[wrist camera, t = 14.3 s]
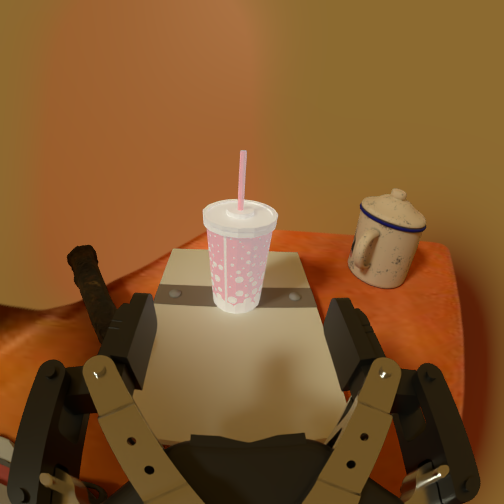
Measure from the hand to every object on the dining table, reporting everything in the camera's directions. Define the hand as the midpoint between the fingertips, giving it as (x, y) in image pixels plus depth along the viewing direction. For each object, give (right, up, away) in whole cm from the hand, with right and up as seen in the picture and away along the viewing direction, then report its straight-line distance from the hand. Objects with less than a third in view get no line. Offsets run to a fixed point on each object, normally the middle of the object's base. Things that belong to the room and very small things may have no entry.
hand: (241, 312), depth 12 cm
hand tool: (-15, -4, +13) cm, 20 cm away
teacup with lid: (+16, 0, +22) cm, 28 cm away
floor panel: (-1, -4, +13) cm, 14 cm away
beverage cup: (-1, -2, +15) cm, 15 cm away
